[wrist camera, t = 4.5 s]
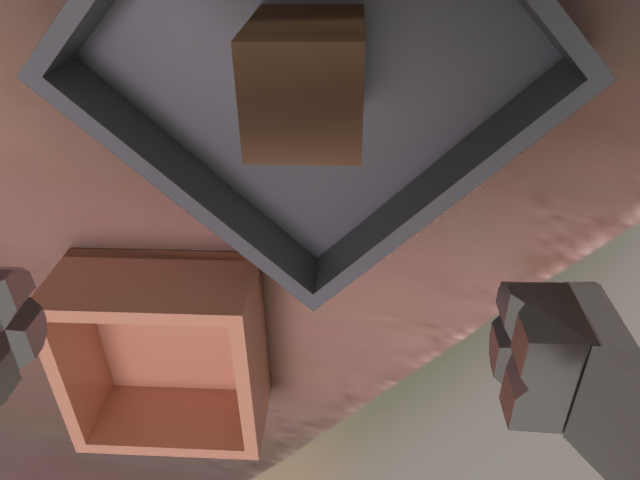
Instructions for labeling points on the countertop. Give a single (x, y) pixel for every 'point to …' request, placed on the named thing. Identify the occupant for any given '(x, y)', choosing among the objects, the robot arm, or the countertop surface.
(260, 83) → the block
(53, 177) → the countertop surface
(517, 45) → the tray
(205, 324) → the peach open box
